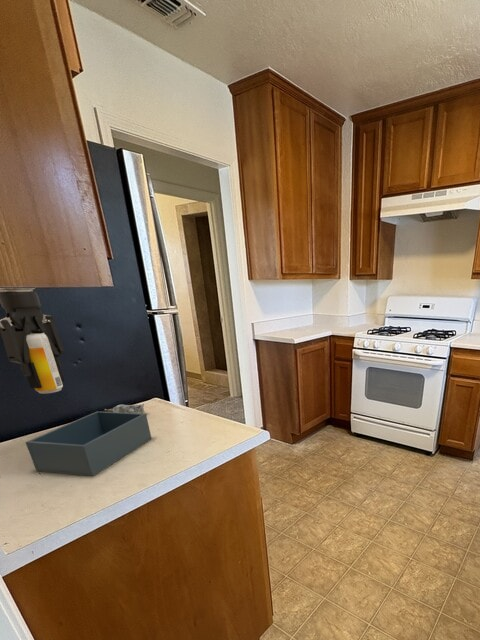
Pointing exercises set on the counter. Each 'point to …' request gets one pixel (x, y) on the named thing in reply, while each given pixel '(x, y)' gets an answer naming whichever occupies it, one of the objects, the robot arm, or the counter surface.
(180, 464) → the counter surface
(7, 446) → the counter surface
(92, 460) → the tub
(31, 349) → the beer can
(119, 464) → the counter surface
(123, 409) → the egg carton
